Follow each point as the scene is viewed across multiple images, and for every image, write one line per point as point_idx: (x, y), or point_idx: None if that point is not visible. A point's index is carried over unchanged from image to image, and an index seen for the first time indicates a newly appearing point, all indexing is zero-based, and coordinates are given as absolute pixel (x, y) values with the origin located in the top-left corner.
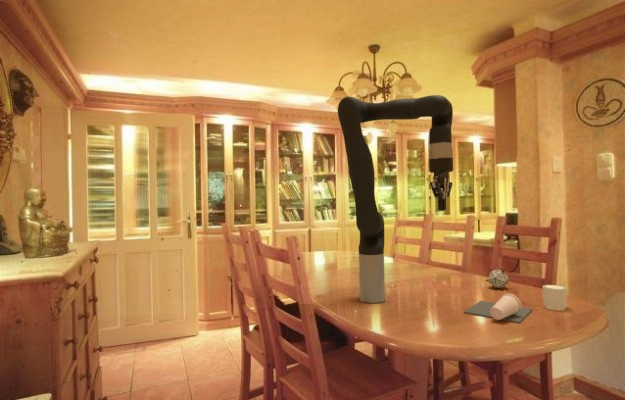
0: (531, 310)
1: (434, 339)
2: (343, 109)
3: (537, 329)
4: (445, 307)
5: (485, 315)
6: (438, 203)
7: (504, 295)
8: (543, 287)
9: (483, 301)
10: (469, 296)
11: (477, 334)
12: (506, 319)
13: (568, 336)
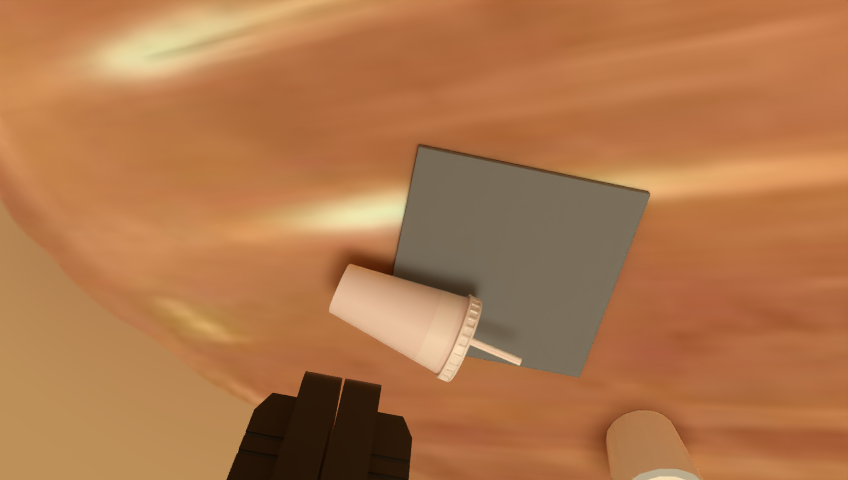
0: (561, 372)
1: (22, 91)
2: None
3: None
4: (480, 46)
5: (401, 232)
6: (235, 465)
7: (457, 340)
8: (650, 469)
9: (635, 207)
10: (754, 128)
11: (175, 220)
12: None
13: None
